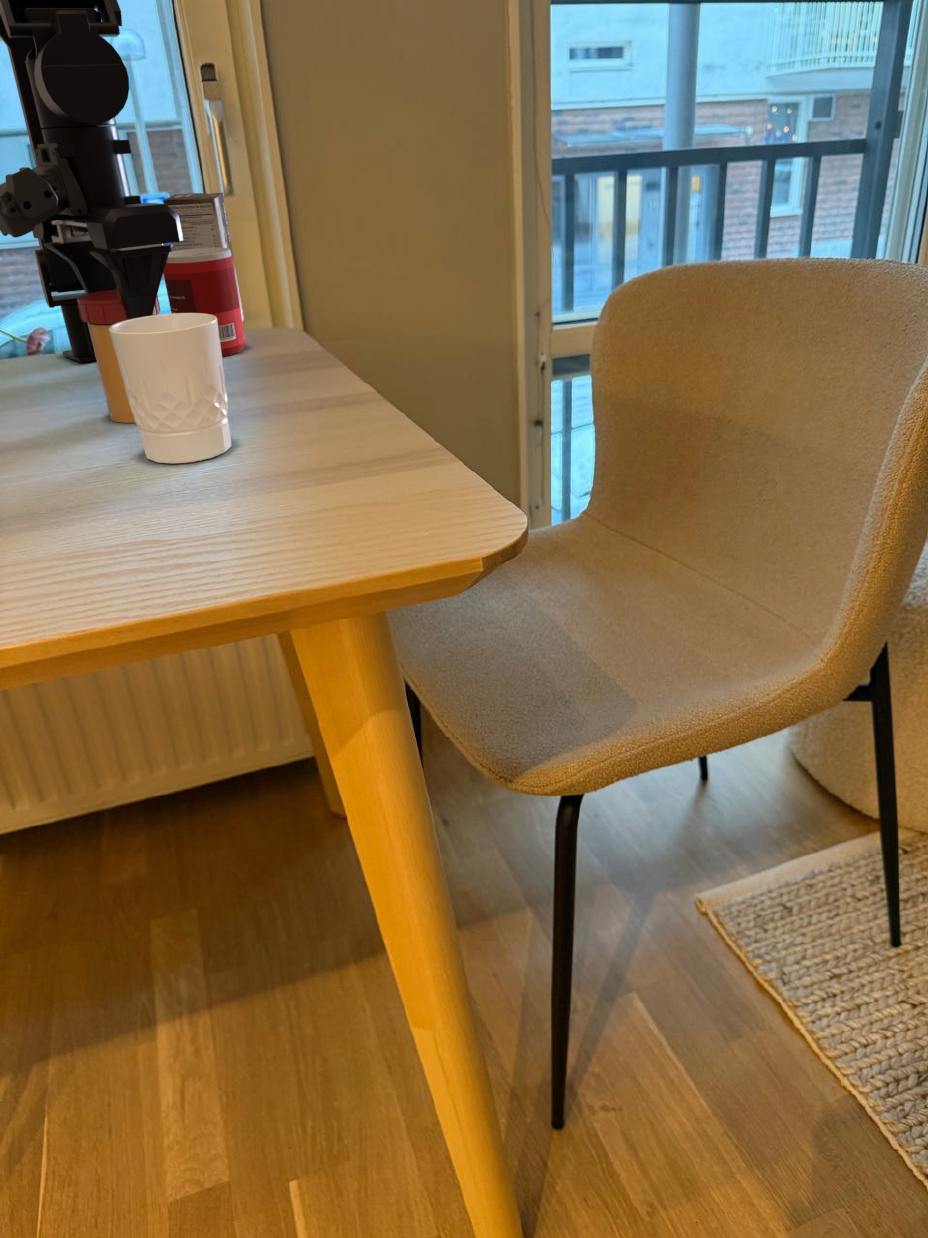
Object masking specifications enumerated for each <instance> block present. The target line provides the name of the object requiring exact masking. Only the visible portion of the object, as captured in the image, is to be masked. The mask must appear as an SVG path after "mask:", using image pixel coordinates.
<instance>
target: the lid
mask: <svg viewBox="0 0 928 1238" xmlns="http://www.w3.org/2000/svg"><path fill="white" fill-rule="evenodd" d="M77 301H78V304H77V305H78V309H79V313H80V317H81V320H83V321H84V322H87V323H98V324H101V323H119V322H122V321H126V320H129V319H128V316H127V313H126V310H125V308H124V305H123V302H122V299H121V296H120V294H119V291H118V289H115V290H106V291H99V292H94V293H89V294H85V295H82V296H79V297H78V298H77ZM160 313H161V307H160V301H159V295H158V294H157V298H156V302H155V306H154V310H153V315H160ZM153 315H152V316H153Z"/></svg>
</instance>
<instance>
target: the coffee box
mask: <svg viewBox="0 0 928 1238" xmlns="http://www.w3.org/2000/svg"><path fill="white" fill-rule="evenodd" d="M162 204H166V205H167V206H169V207H170V208H171V209H172V210H173V211H174V212H175V213H177V214H178V215H179V219H180V225H181V230H182V236H183V241H180V242H172V243H170V244H172V245H173V251H179V250H187V249H198V248H227V249H230V252H231V255H232V261H233V266H234V272H235V278H236V285H237V291H238V297H239V304H240V310H241V316H242V323H244V320H245V317H244V311H243V306H242V305H243V304H242V300H241V294H240V293H241V292H240V288H239V282H238V281H239V280H238V276H237V268H236V262H235V258H234V250H233V245H232V240H231V239H232V238H231V232H230V227H229V222H228V216H227V215H228V214H227V209H226V204H225V197H224V192H212V193H208V192H191V193H190V192H189V193H178V194H174V195H171V196H169V197H167V198H165V199H162ZM173 251H172V252H173Z"/></svg>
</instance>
